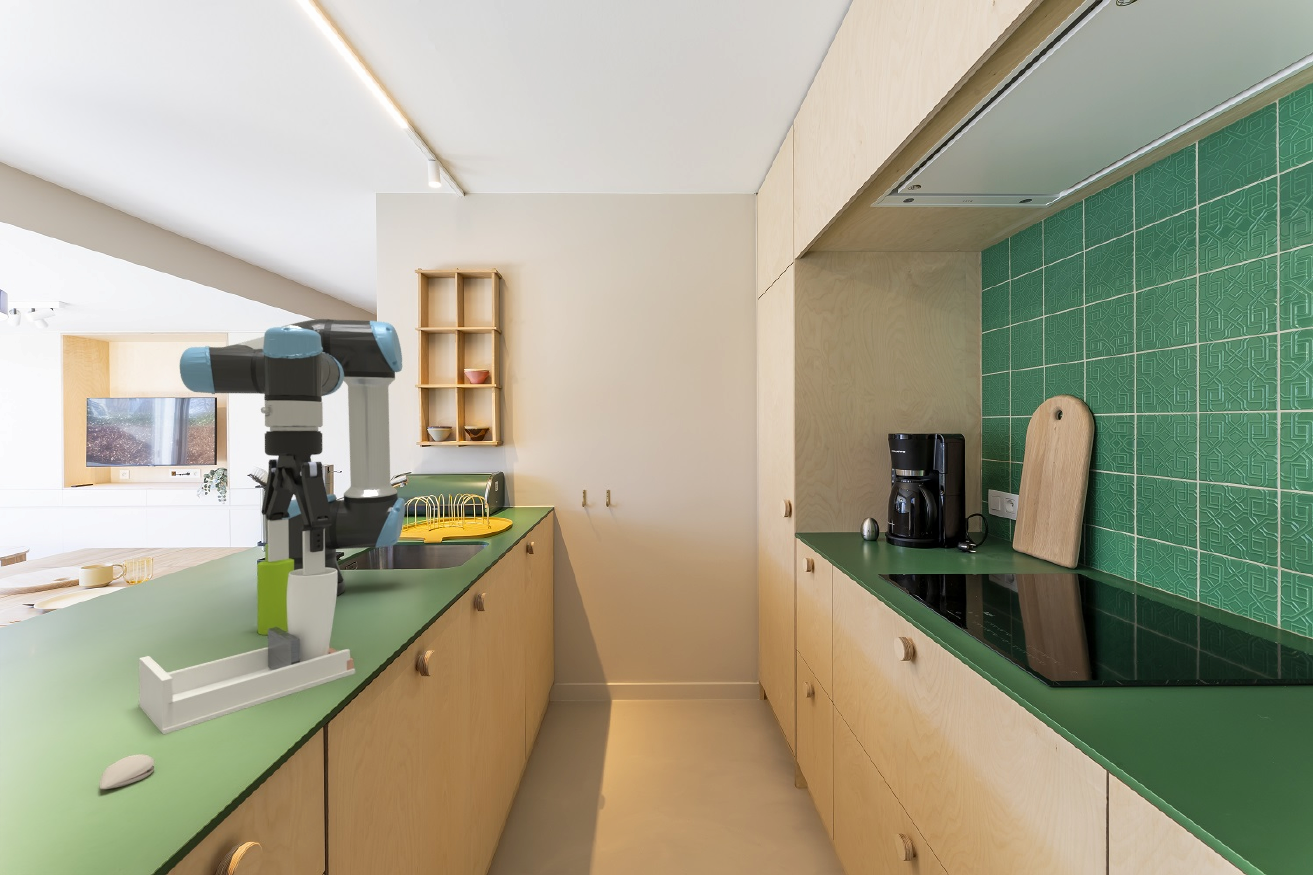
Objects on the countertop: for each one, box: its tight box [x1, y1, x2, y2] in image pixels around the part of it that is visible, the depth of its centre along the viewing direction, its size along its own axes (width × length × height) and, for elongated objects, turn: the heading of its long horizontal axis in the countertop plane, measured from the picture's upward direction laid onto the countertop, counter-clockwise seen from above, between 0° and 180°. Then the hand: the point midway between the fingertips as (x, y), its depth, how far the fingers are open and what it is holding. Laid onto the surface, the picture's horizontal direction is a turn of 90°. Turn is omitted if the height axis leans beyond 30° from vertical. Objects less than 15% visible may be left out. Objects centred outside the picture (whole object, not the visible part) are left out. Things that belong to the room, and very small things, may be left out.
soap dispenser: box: [256, 542, 294, 636], centre depth 109 cm, size 6×7×20 cm
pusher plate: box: [267, 627, 300, 670], centre depth 86 cm, size 1×9×6 cm, turn 52°
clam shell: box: [99, 753, 155, 790], centre depth 61 cm, size 4×5×2 cm
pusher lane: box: [138, 646, 356, 735], centre depth 83 cm, size 23×13×7 cm, turn 142°
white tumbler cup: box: [287, 567, 338, 662], centre depth 89 cm, size 7×7×15 cm
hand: (295, 566), depth 88 cm, fingers open, 13 cm apart
